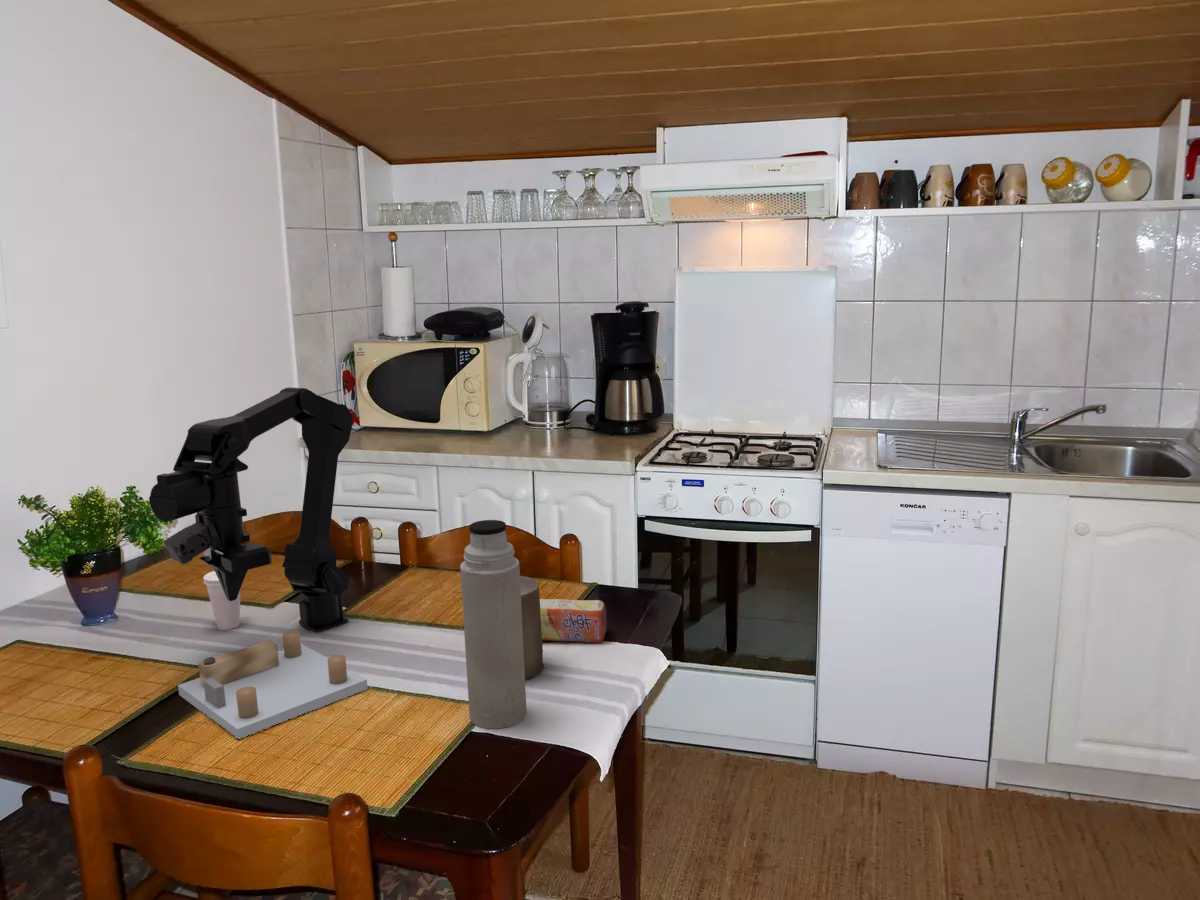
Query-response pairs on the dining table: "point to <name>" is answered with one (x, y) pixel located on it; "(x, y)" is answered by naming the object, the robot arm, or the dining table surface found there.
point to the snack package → (573, 620)
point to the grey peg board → (275, 689)
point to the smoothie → (222, 604)
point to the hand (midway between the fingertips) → (232, 600)
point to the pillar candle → (531, 627)
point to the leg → (239, 663)
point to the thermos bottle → (493, 627)
